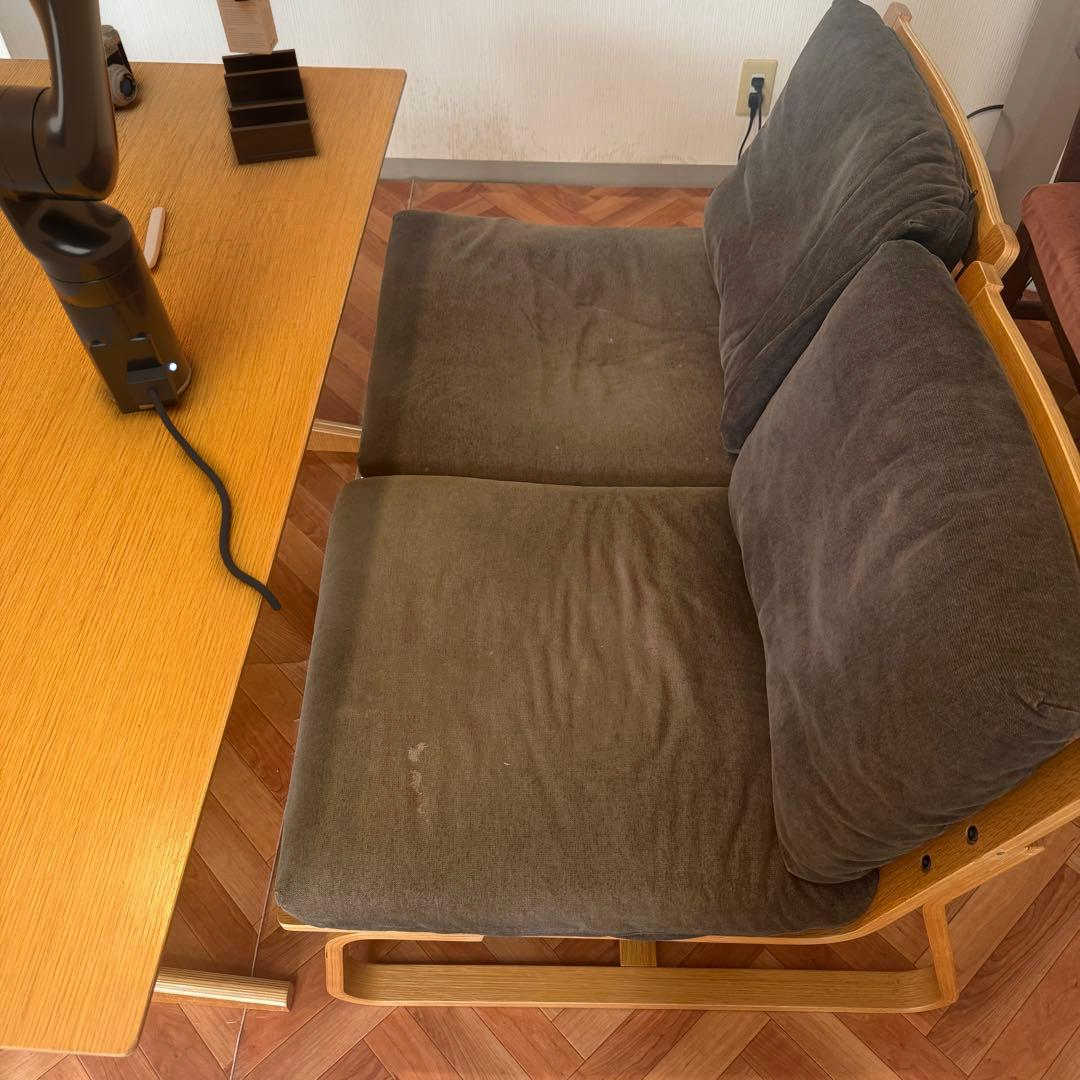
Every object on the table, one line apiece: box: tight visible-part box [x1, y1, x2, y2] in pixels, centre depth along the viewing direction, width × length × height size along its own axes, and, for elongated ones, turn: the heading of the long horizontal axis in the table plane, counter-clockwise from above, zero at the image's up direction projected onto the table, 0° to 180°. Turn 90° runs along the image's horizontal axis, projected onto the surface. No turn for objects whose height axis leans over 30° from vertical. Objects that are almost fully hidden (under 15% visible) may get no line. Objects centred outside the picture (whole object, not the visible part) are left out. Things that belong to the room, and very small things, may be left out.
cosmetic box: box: [215, 0, 279, 54], centre depth 121 cm, size 6×4×12 cm
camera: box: [48, 24, 139, 109], centre depth 132 cm, size 15×7×10 cm, turn 162°
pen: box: [143, 206, 166, 270], centre depth 116 cm, size 2×14×2 cm, turn 8°
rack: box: [221, 48, 317, 166], centre depth 133 cm, size 22×11×5 cm, turn 15°
